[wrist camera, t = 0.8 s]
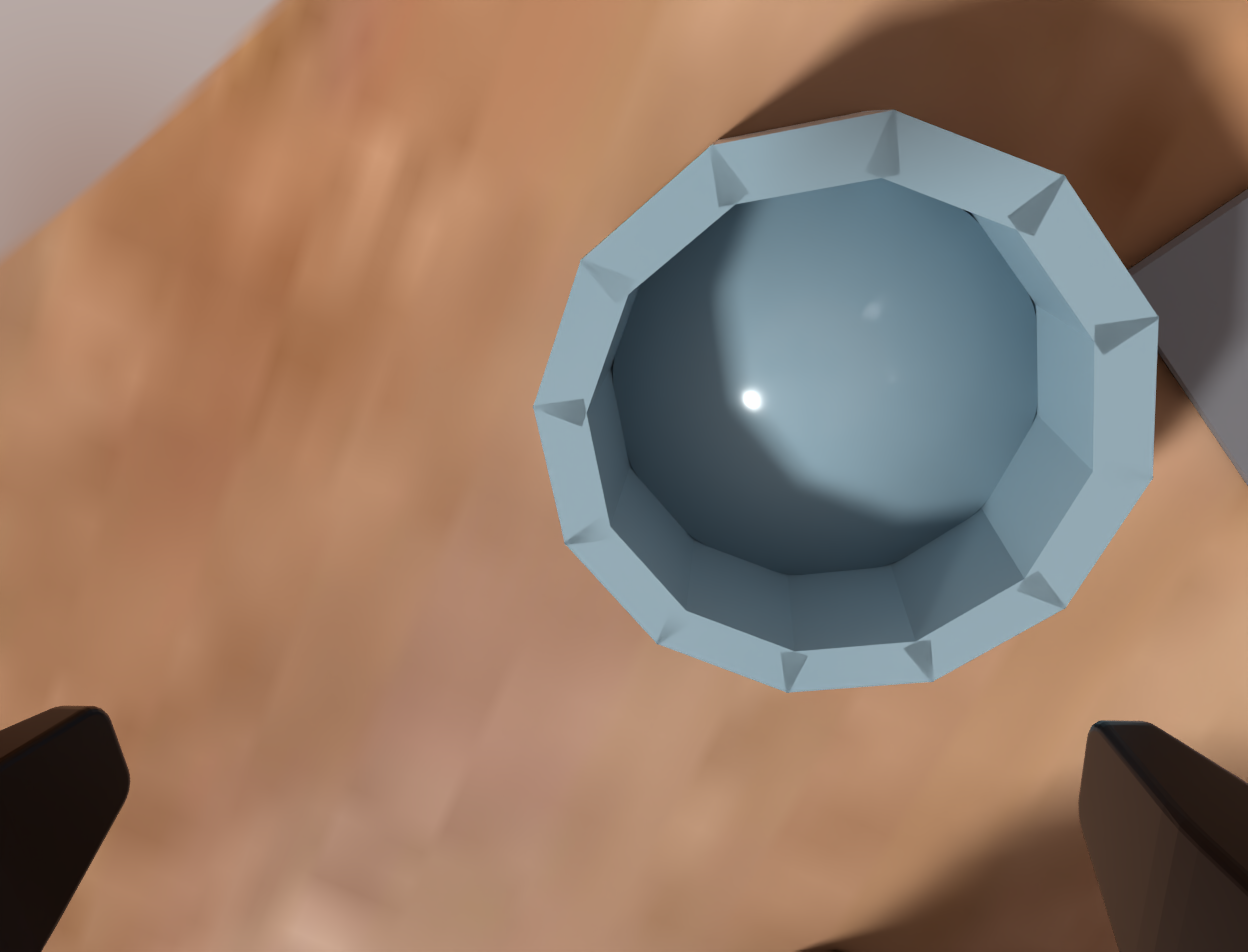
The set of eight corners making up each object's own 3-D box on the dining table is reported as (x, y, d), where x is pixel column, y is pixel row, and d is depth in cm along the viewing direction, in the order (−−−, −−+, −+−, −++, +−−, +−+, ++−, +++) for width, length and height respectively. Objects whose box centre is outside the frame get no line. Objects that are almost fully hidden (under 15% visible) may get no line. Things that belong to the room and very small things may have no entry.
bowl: (1173, 420, 19) (1275, 492, 15) (768, 665, 23) (773, 770, 19) (882, -7, 17) (921, -41, 13) (483, 344, 20) (426, 394, 17)
